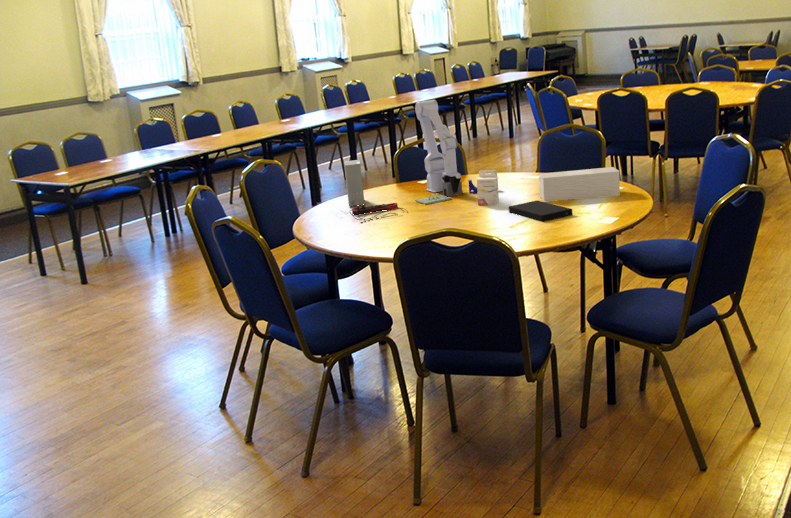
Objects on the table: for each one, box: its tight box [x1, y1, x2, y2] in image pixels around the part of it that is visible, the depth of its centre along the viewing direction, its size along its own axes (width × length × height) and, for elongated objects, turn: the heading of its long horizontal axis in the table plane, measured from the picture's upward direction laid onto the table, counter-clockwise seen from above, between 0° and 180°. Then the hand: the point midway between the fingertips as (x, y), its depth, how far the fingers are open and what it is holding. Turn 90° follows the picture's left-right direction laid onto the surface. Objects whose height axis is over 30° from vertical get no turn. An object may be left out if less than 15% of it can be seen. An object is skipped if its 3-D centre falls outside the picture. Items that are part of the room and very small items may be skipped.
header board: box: [414, 192, 452, 206], centre depth 334 cm, size 10×14×3 cm
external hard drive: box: [508, 200, 573, 223], centre depth 289 cm, size 14×23×3 cm, turn 24°
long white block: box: [538, 166, 621, 202], centre depth 311 cm, size 32×11×11 cm, turn 87°
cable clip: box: [467, 179, 478, 195], centre depth 342 cm, size 12×4×6 cm, turn 86°
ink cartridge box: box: [476, 169, 500, 206], centre depth 314 cm, size 9×5×15 cm, turn 71°
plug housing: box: [442, 180, 463, 197], centre depth 343 cm, size 5×8×6 cm, turn 115°
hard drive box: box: [343, 159, 366, 207], centre depth 344 cm, size 16×8×20 cm, turn 4°
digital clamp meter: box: [348, 202, 409, 224], centre depth 318 cm, size 23×4×25 cm
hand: (452, 191), depth 343 cm, fingers closed on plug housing, 5 cm apart
